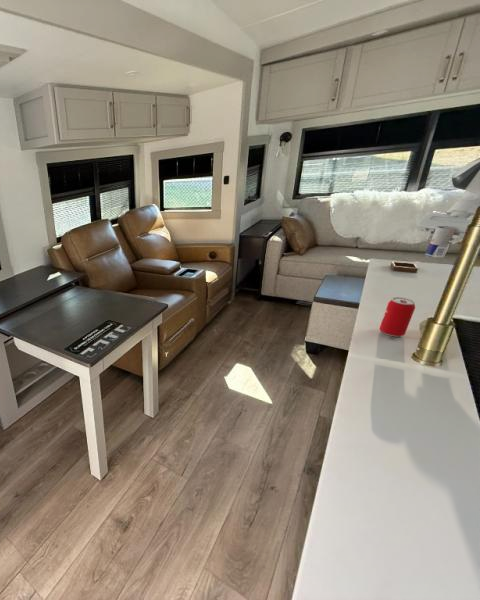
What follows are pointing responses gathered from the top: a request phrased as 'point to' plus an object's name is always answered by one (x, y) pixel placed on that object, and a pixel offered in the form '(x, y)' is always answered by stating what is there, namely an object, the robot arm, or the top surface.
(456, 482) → the top surface
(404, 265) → the serving tray
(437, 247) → the energy drink
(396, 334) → the beverage can
